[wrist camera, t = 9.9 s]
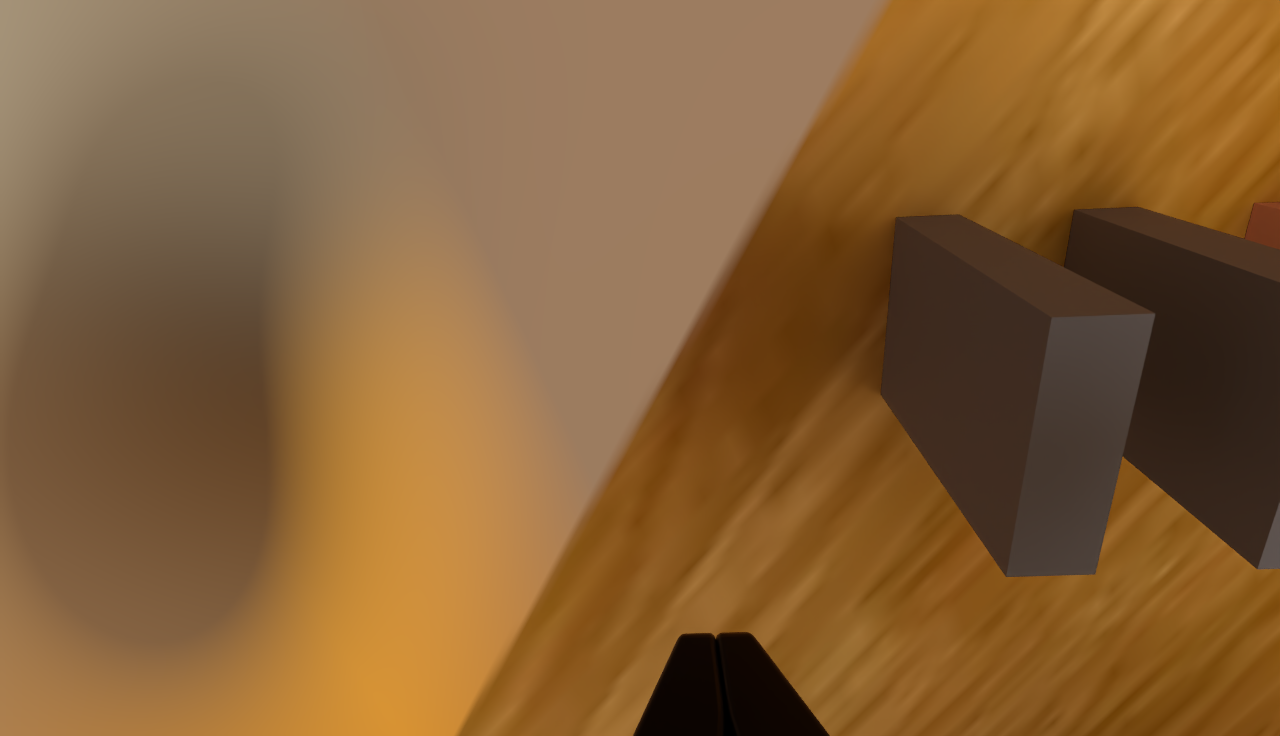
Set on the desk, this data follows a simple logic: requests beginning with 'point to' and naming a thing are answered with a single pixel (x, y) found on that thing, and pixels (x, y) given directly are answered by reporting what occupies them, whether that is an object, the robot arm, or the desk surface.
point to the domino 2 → (1199, 365)
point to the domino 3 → (1265, 224)
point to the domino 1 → (1012, 388)
